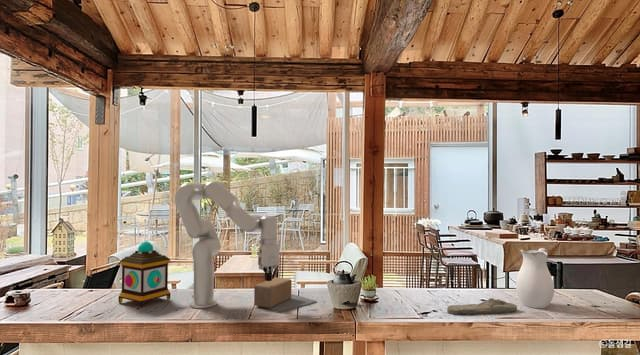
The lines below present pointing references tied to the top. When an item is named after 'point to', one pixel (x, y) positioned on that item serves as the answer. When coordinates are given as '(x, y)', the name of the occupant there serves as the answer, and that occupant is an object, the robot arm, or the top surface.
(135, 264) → the decorative lantern
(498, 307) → the long grey stone
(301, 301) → the mat
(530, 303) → the pitcher
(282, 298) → the wooden block
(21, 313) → the top surface
